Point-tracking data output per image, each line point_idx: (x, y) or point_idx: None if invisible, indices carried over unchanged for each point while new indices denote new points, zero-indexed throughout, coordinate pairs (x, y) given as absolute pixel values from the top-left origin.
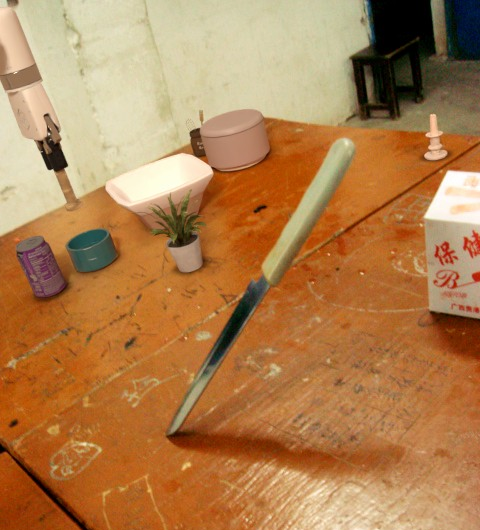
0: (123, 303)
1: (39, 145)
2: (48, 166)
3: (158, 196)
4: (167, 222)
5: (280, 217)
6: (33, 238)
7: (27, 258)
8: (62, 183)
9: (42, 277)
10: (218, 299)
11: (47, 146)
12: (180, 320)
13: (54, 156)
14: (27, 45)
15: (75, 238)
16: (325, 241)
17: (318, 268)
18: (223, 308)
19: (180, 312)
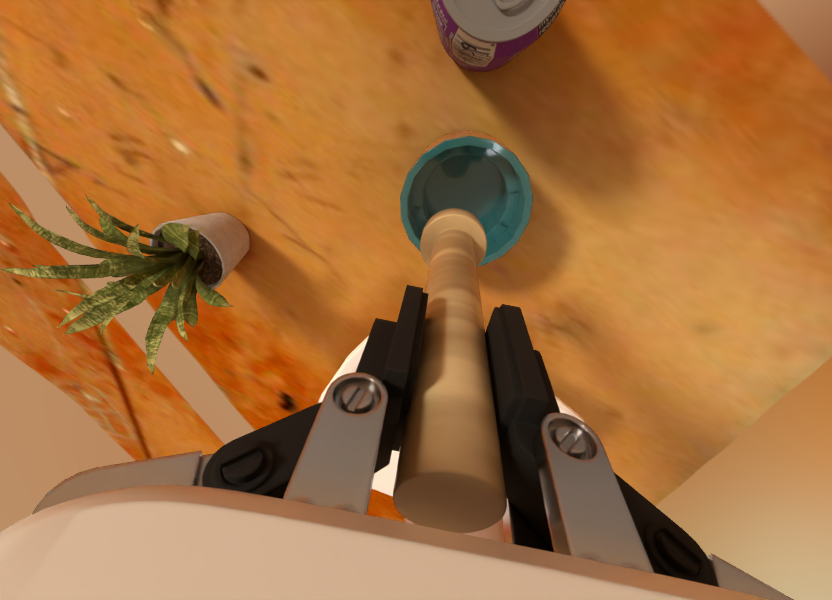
0: (218, 54)
1: (548, 471)
2: (498, 320)
3: (337, 373)
4: (116, 253)
5: (232, 385)
6: (519, 1)
7: None
8: (438, 271)
9: None
10: (63, 150)
11: (315, 432)
12: (39, 51)
13: (358, 366)
14: None
15: (522, 207)
16: (107, 339)
17: (39, 278)
18: (24, 127)
19: (71, 79)
